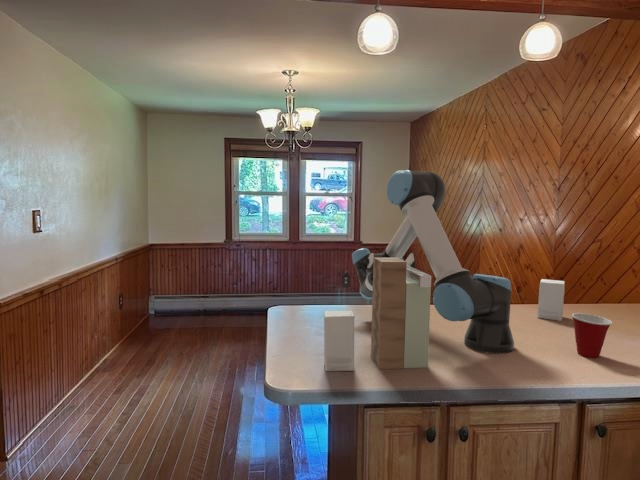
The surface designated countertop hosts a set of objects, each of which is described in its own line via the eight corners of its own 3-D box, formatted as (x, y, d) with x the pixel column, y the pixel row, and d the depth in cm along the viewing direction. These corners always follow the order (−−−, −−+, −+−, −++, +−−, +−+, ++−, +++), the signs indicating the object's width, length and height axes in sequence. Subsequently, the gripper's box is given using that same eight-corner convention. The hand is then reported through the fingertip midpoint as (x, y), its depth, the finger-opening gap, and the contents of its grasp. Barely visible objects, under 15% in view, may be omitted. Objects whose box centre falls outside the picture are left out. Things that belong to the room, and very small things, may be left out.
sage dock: (394, 356, 134) (396, 277, 132) (416, 356, 135) (419, 277, 133) (403, 368, 126) (406, 283, 123) (427, 367, 126) (430, 283, 124)
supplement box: (562, 321, 178) (564, 284, 176) (537, 318, 182) (539, 281, 181) (563, 316, 185) (565, 280, 184) (538, 313, 190) (541, 278, 188)
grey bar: (393, 272, 142) (393, 262, 142) (402, 272, 142) (402, 262, 142) (420, 287, 118) (420, 275, 118) (431, 287, 119) (431, 275, 118)
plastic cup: (611, 363, 131) (614, 323, 130) (569, 357, 137) (571, 318, 135) (608, 353, 141) (611, 315, 140) (569, 347, 146) (571, 310, 145)
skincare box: (352, 363, 129) (353, 309, 127) (354, 372, 122) (355, 316, 121) (322, 363, 128) (323, 309, 127) (323, 372, 122) (324, 315, 120)
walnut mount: (370, 357, 133) (373, 257, 131) (393, 356, 134) (396, 257, 132) (378, 369, 125) (381, 261, 122) (403, 368, 126) (406, 261, 123)
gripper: (411, 287, 167) (430, 267, 148) (345, 288, 163) (356, 267, 144) (408, 269, 170) (427, 246, 151) (343, 269, 167) (354, 246, 147)
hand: (392, 256), depth 148 cm, fingers open, 13 cm apart
